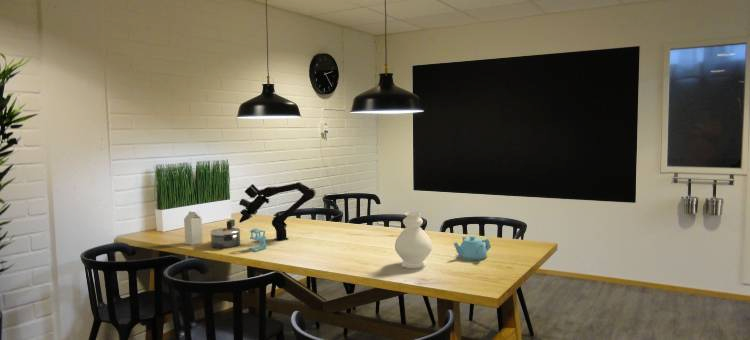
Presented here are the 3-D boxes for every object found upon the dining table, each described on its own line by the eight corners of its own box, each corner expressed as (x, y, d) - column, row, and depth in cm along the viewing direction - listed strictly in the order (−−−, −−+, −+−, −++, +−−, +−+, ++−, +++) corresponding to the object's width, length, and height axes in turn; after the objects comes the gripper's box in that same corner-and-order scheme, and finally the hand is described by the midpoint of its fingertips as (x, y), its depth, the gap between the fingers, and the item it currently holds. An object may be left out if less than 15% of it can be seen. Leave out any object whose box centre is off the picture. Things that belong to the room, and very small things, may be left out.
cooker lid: (235, 235, 297) (235, 226, 297) (206, 236, 298) (205, 227, 297) (246, 227, 320) (245, 219, 320) (219, 228, 321) (218, 219, 320)
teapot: (482, 262, 254) (482, 240, 253) (453, 259, 261) (452, 238, 260) (491, 255, 268) (491, 234, 267) (463, 252, 275) (462, 232, 274)
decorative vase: (440, 265, 252) (439, 213, 250) (411, 271, 242) (410, 217, 240) (416, 257, 267) (415, 208, 264) (387, 264, 256) (386, 213, 254)
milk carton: (192, 245, 309) (190, 213, 307) (185, 243, 313) (183, 212, 312) (202, 243, 315) (201, 211, 313) (195, 241, 319) (194, 210, 317)
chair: (268, 249, 294) (268, 228, 293) (255, 252, 288) (255, 230, 287) (261, 247, 299) (260, 226, 298) (248, 250, 294) (247, 228, 293)
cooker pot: (243, 247, 300) (242, 235, 299) (214, 251, 293) (213, 238, 293) (235, 238, 323) (235, 227, 323) (208, 242, 317) (207, 230, 316)
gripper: (251, 192, 325) (234, 210, 327) (242, 196, 307) (225, 215, 308) (264, 204, 326) (247, 222, 327) (257, 209, 307) (239, 228, 308)
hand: (239, 222), depth 318 cm, fingers closed
